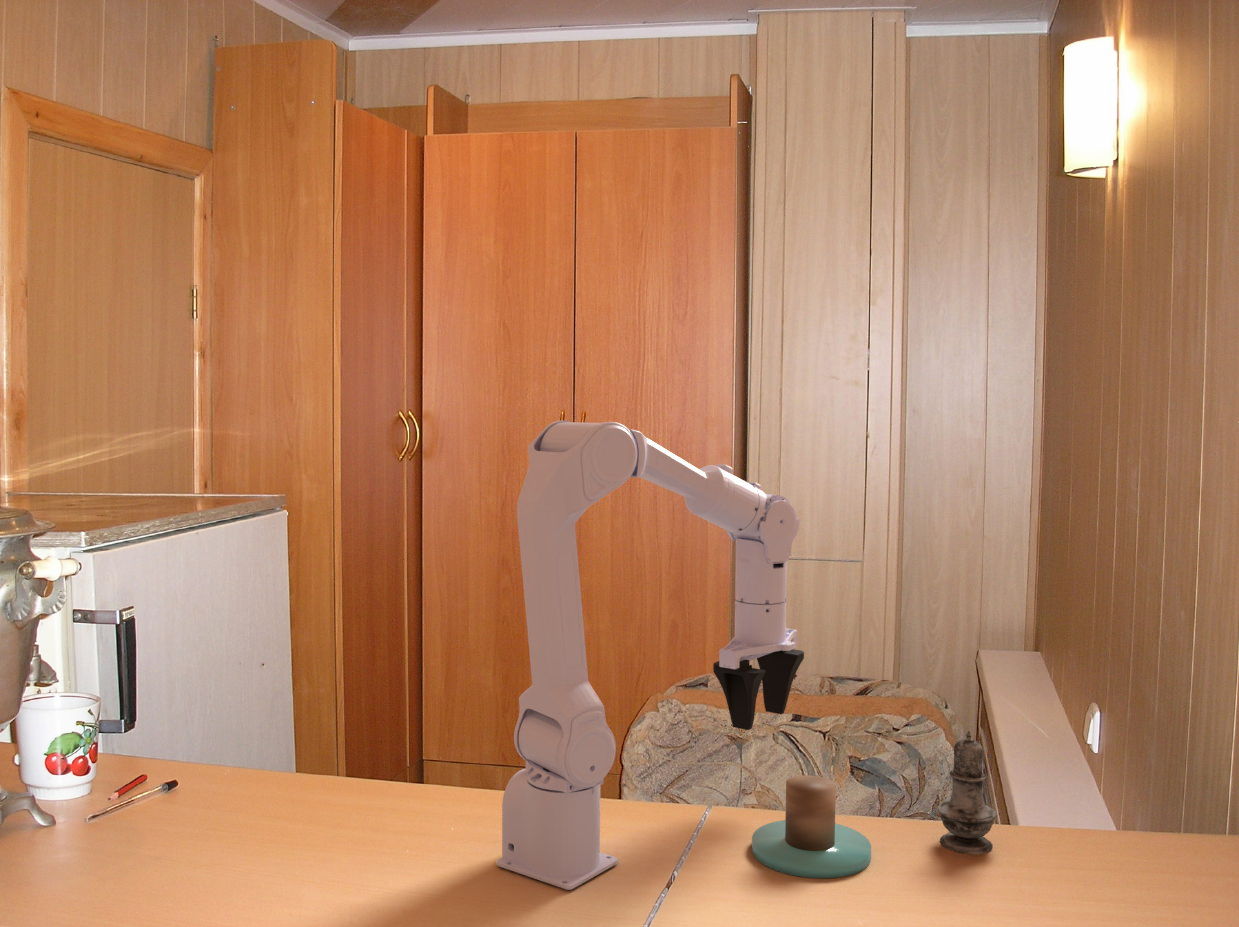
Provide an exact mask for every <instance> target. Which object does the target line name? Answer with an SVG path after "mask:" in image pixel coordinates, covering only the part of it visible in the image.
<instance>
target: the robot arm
mask: <svg viewBox="0 0 1239 927" xmlns="http://www.w3.org/2000/svg"><path fill="white" fill-rule="evenodd" d="M527 453H528V468H527V472H526V474H525V477H524V479H523V482H522V486H521V490H520V492H519V496H518V499H517V503H516V519H517V520H516V521H517V529H518V543H519V551H520V553H519V554H520V561H521V564H520V565H521V573H522V585H523V594H524V595H523V597H524V605H525V606H524V607H525V618H526V619H525V620H526V629H527V641H528V649H529V651H528V652H529V663H530V673H531V674H530V675H531V685H530V686H529V687H528V688H527V689H526V690H525V691H524V692H522V693H521V694H520V695H519V698H518V703H519V711H518V712H519V713H518V719H517V721H516V724H515V727H514V731H513V742H514V746H515V747H514V748H515V749H516V752H517V753H518V754H519V757H521V758H522V759H523V760H524V761H525V768H522V769H520V770H519V771H517V772H516V773H515V774H514V775H512V776H511V778H510V779H509V780H508V782H507V785H506V787H505V790H504V793H503V796H502V803H501V804H502V805H501V806H502V807H501V809H502V811H501V814H502V815H501V816H502V817H501V818H502V819H501V821H502V824H501V827H502V828H501V834H502V836H501V839H502V840H501V847H502V849H501V850H502V851H501V852H502V853H501V857H500V858H498V859H497V860H496V866H497V867H500V868H503V869H505V870H508V871H512V872H514V873H517V874H520V875H524V876H525V877H529V878H532V879H535V880H538V881H540V882H543V883H546V884H549V885H553V886H555V887H558V888H561V889H564V890H568V891H569V890H573V889H575V888H578V887H579V886H580V885H582V884H583V883H585V882H587V881H589V880H591V879H593V878H594V877H596V876H598V875H599V874H602V873H603V872H605V871H606V870H608V869H610V868H612V867H614V866H615V865H617V864H618V863H619V859H618V857H617V856H613V855H609V854H606V853H604V852H601V848H600V847H601V786H602V785H604V779H605V778H606V776H607V775H608V773H609V772H610V771H611V769H612V767H613V764H614V762H615V758H616V752H617V750H616V749H617V743H616V738H615V735H614V734H613V732H612V730H611V729H610V727H609V724H608V723H607V720H606V713H605V712H606V711H605V706H604V704H603V703H602V701H601V699H600V697H599V696H598V695H597V693H596V691H595V690H594V688H593V687H592V685H591V683H590V681H589V675H588V674H589V673H588V663H587V662H588V661H587V649H586V642H585V640H586V638H585V629H584V628H585V626H584V617H583V616H584V614H583V605H582V604H583V602H582V601H583V600H582V591H581V578H580V568H579V567H580V566H579V554H578V546H577V534H576V523H577V522H578V521H579V519H580V518H581V517H582V516H583V514H584V513H585V512H586V511H587V510H588V509H589V508H590V507H591V506H592V505H594V504H596V503H597V502H598V501H600V500H602V499H603V498H605V497H606V496H607V495H609V494H610V493H612V492H613V491H615V490H617V489H618V488H620V487H622V485H624V484H625V483H626V482H627V481H629V479H630V478H640V479H642V480H645V481H647V482H650V483H652V484H654V485H656V486H659V487H661V488H663V489H666V490H668V491H671V492H673V493H674V494H677V495H680V496H682V497H683V498H684V503H685V507H686V509H687V510H688V512H690V513H691V515H694V516H696V517H698V518H700V519H702V520H704V521H706V522H708V523H711V524H713V525H715V526H717V527H718V528H721V529H723V530H725V532H726V534H727V535H728V537H729V538H730V539H731V540H732V541H735V577H734V578H735V580H734V583H735V587H734V588H735V589H734V637H732V639H731V640H730V641H729V642H728V643H727V645H726V646H724V647H722V648H719V657H718V658H719V661H716V662H713V665H712V670H713V671H712V672H713V674H714V675H715V677H716V679H717V680H718V682H719V685H720V686H721V689H722V691H723V694H724V696H725V700H726V704H727V708H728V712H729V716H730V717H729V718H730V721H731V724H732V725H731V726H732V727H733V728H735V729H742V730H746V731H750V730H752V728H753V725H754V721H755V713H756V705H757V697H758V694H759V690H760V687H761V683H762V696H763V698H762V699H763V705H764V709H765V712H767V713H771V714H772V713H773V714H777V715H783V714H785V711H786V708H787V704H788V700H789V695H790V692H791V688H792V684H793V682H794V679H795V676H796V674H797V671H798V670H799V667H800V665H801V664H802V662H803V661H804V659H805V652H804V651H803V650H801V649H795V648H796V647H797V646H798V629H792V628H787V593H788V592H787V585H788V584H787V582H788V580H787V578H788V561H789V560H790V557H792V546H793V542H794V540H795V538H796V537H797V535H798V531H799V529H800V522H801V520H800V518H798V517H797V512H796V510H795V507H794V506H793V504H791V501H790V500H789V499H787V497H785V496H784V495H779V494H777V495H776V494H770V493H769V494H768V493H766V492H764V491H763V490H762V486H761V484H760V483H757V482H755V481H748V482H747V481H746V480H743V479H741V478H739V477H738V476H736V475H734V474H733V473H732V472H733V470H734V469H733V467H732V466H729V465H727V464H723V463H716V465H715V464H710V465H709V464H708V465H705V466H703V467H701V468H698V467H697V466H694V465H693V464H691V463H689V462H688V461H686V460H684V459H683V458H681V457H680V456H677V455H676V454H675V453H673V452H671V451H669V450H668V449H666V448H664V447H663V446H661V445H660V444H658V443H656V442H655V441H653V440H651V439H650V438H648V437H646V436H645V435H644V433H642V432H641V431H638V430H637V429H632V428H628V427H627V426H625V425H624V424H621V423H619V422H617V421H603V422H579V421H578V422H573V421H572V422H571V421H569V420H556V421H553V422H551V423H549V424H548V425H546V426H545V427H544V428H543V429H542V430H541V431H540V432H539V433H538V435H537V436H536V437H535V438H534V439H533V440H532V441H531V442H530V443H529V444H528V446H527ZM755 659H756V661H757V664H758V668H756V667H755V668H754V667H753V665H752V664H750V661H753V660H755Z"/></svg>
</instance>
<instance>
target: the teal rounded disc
mask: <svg viewBox="0 0 1239 927" xmlns="http://www.w3.org/2000/svg"><path fill="white" fill-rule="evenodd" d="M785 820H786V819H784V820H777V821H772V822H769V823H766V824H763V825H761V826H760V827H758V828H757V829H756V830H755V831H754V832H753V834H752V836H751V853H752V855H753V857H754V858H755V859H756V860H757V861H758V862H759V863H760V864H762V865H764V866H765V867H767V868H769V869H771V870H774V871H776V872H779V873H782V874H786V875H791V876H795V877H800V878H809V879H810V878H811V879H833V878H835V879H836V878H842V877H848V876H852V875H853V876H854V875H855V874H858V873H860V872H862V871H863V870H865V869H867V867H869V865H870V863H871V860H872V844H871V842H870V840H869V839H868V838H867V837H866V836H865V835H864V834H862V833H860V832H859V831H857V830H856V829H853V828H851V827H849V826H845V825H842V824H839V823H836V822H835V845H834V846H833V847H832V848H830V849H827V850H823V851H806V850H800V849H797V848H794V847H792V846H790V845H788V844H787V843H786V841H785Z"/></svg>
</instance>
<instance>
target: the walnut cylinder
mask: <svg viewBox="0 0 1239 927" xmlns="http://www.w3.org/2000/svg"><path fill="white" fill-rule="evenodd" d="M836 788H837V784H836V782H834V781H833V780H831V779H829V778H826V777H823V776H818V775H812V774H811V775H807V774H805V775H794V776H791V777H789V778H787V779H786V780H785V819H784V820H785V841H786V843H787V844H788V845H790V846H792V847H794V848H797V849H800V850H806V851H823V850H827V849H830V848H832V847H833V846H834V845H835V823H836V799H837V798H836V797H837V796H836V791H837V790H836Z"/></svg>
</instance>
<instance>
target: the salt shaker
mask: <svg viewBox="0 0 1239 927" xmlns="http://www.w3.org/2000/svg"><path fill="white" fill-rule="evenodd" d="M965 736H966V737H964V738H963V739H959V740H958V741H957V742H955V744H954V747H953V769H952V770H950V771H949V775H950V777H952V788H951V789H952V791H951V796H950V798H949V800H946V801H943V802H941V803H940V804H939V805H938V806H937V811H938V812H939V813H940V820H941V823H942V824H943V827H944V828H945V829H947V831H948V832H947V833H946V834H943V835H942V836H941V837H940V838H939V843H940V844H941V846H943V847H944V848H946V849H948V850H949V851H952V852H956V853H961V854H967V855H982V854H983V855H984V854H987V853H990V852H991V851H992V850H993V848H994V847H993V843H992V842H991V841H990V840H989V839H987V838H986V837H985V836H986V835H987V834H988V833H989V832H990V831H991V829H992V827H993V825H994V820H995V819H996V818H997V812H996V810H995V809H993V808H992V807H991V806H988V805H986V804H985V801H984V795H983V790H984V788H983V786H984V784H983V783H984V780H986V778H987V775H986V774H985V773H984V772H983V761H984V760H983V757H984V756H983V754H984V753H983V752H984V749H983V746H982V745H981V743H980V742H979V741H977V740H974V739H973V738H972V736H973V734H972V733H971V732H970V731H969V730H968V731H967V732H966V733H965Z"/></svg>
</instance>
